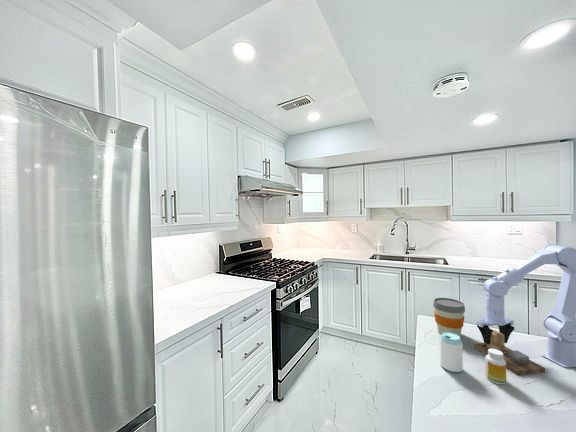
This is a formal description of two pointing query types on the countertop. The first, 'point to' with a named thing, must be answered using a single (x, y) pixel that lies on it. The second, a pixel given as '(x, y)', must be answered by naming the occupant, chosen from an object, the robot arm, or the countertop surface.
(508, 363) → the brown wooden frame
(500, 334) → the oak peg
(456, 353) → the can
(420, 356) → the countertop surface
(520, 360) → the gray cube
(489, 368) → the supplement bottle
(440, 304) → the reusable coffee cup
